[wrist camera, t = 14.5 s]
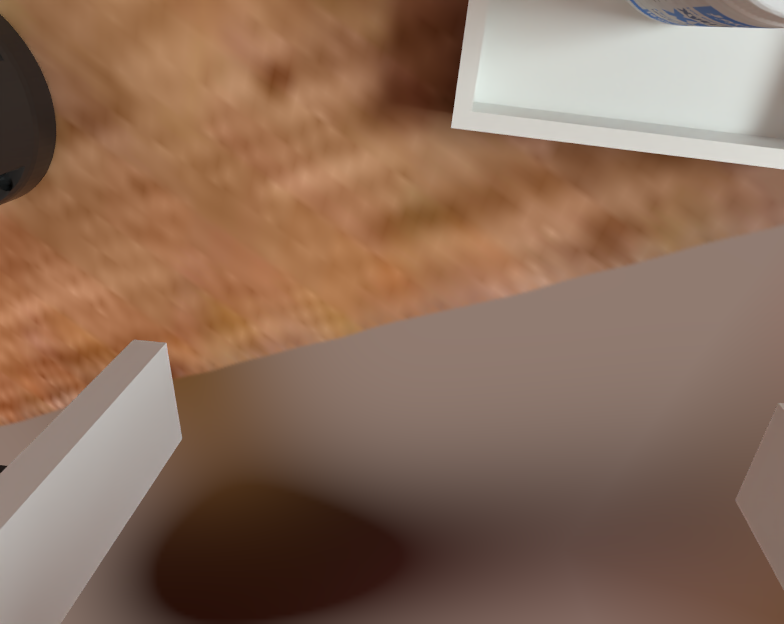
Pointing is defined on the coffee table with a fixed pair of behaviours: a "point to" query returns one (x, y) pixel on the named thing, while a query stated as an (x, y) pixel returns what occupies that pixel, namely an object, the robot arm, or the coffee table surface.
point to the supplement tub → (714, 12)
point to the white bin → (621, 80)
